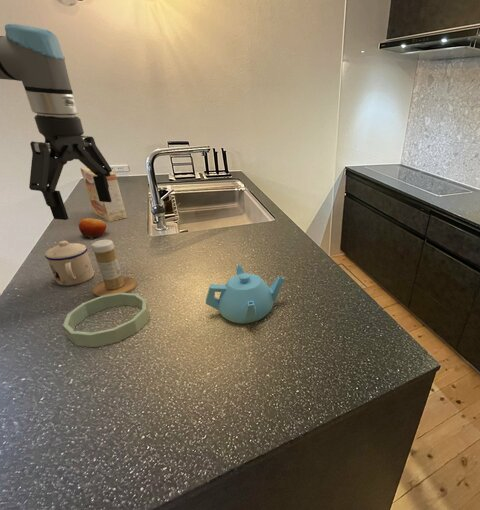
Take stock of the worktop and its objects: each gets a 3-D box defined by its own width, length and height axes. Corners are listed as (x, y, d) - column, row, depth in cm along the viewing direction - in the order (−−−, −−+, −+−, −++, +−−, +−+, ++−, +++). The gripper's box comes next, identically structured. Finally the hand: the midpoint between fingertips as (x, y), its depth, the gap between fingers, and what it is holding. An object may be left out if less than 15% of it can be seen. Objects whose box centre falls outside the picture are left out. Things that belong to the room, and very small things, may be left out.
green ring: (50, 343, 67) (44, 330, 65) (103, 301, 80) (99, 290, 79) (120, 349, 66) (116, 337, 65) (161, 306, 80) (159, 295, 79)
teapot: (241, 288, 91) (239, 256, 86) (286, 301, 86) (285, 268, 81) (204, 317, 78) (198, 281, 73) (253, 335, 73) (251, 298, 69)
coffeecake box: (93, 213, 133) (79, 167, 124) (111, 209, 138) (99, 165, 129) (108, 222, 126) (95, 174, 117) (127, 218, 131) (115, 172, 122)
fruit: (69, 236, 109) (74, 214, 109) (89, 239, 116) (94, 219, 117) (89, 239, 108) (94, 217, 108) (108, 242, 116) (113, 221, 116)
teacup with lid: (56, 274, 90) (42, 238, 84) (95, 267, 95) (84, 233, 89) (53, 295, 81) (37, 256, 76) (96, 286, 86) (83, 249, 81)
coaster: (84, 296, 82) (83, 294, 81) (111, 277, 90) (110, 275, 90) (120, 300, 81) (120, 297, 81) (144, 280, 90) (143, 278, 90)
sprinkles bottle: (112, 281, 88) (99, 238, 82) (128, 282, 88) (116, 239, 82) (101, 289, 83) (86, 245, 77) (117, 291, 84) (104, 246, 78)
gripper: (16, 119, 54) (55, 229, 64) (115, 114, 77) (133, 197, 86) (-26, 115, 54) (20, 226, 64) (85, 111, 77) (107, 194, 86)
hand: (85, 209), depth 75 cm, fingers open, 13 cm apart
